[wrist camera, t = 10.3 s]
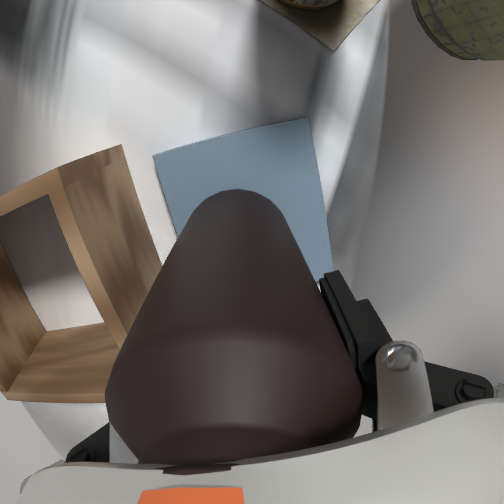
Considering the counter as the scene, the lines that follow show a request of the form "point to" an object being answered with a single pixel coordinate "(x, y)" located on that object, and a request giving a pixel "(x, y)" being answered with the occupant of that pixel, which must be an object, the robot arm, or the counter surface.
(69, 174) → the crate
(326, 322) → the vinegar
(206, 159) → the mat
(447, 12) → the thermos
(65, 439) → the counter surface
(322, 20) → the condiment
